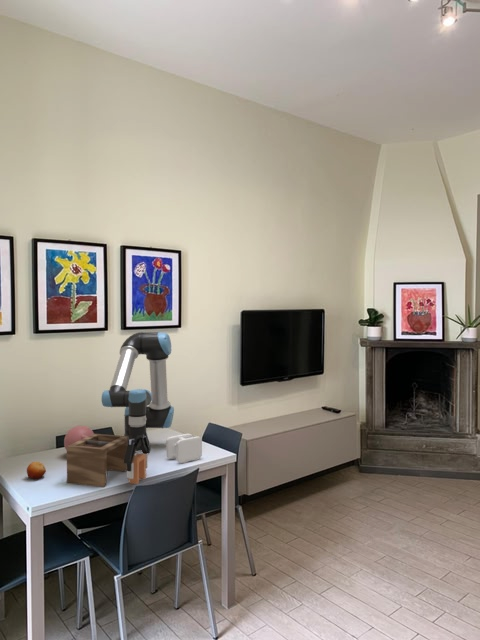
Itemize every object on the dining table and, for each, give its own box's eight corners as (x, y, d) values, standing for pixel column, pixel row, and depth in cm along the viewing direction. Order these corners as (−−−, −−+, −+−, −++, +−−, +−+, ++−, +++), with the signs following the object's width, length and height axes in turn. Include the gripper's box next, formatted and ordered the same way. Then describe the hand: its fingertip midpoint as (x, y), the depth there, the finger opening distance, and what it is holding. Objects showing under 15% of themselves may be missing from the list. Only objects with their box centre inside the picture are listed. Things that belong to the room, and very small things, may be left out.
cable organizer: (176, 465, 230) (176, 441, 230) (165, 459, 239) (165, 436, 238) (202, 459, 240) (202, 436, 240) (190, 454, 248) (190, 432, 248)
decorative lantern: (72, 465, 230) (72, 433, 230) (60, 455, 246) (59, 425, 246) (103, 459, 239) (103, 428, 239) (89, 449, 255) (89, 421, 255)
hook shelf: (94, 466, 227) (94, 433, 227) (128, 470, 223) (128, 436, 222) (66, 482, 206) (66, 446, 206) (104, 487, 201) (103, 449, 201)
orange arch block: (129, 483, 206) (129, 459, 206) (137, 476, 214) (137, 453, 214) (137, 483, 205) (137, 459, 205) (145, 477, 213) (145, 454, 213)
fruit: (26, 471, 216) (35, 456, 216) (41, 480, 216) (50, 465, 217) (19, 478, 208) (29, 462, 208) (35, 487, 208) (45, 471, 209)
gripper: (131, 432, 196) (131, 483, 196) (157, 419, 220) (157, 464, 221) (115, 431, 198) (115, 481, 198) (142, 418, 222) (142, 463, 222)
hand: (137, 473), depth 209 cm, fingers open, 13 cm apart
